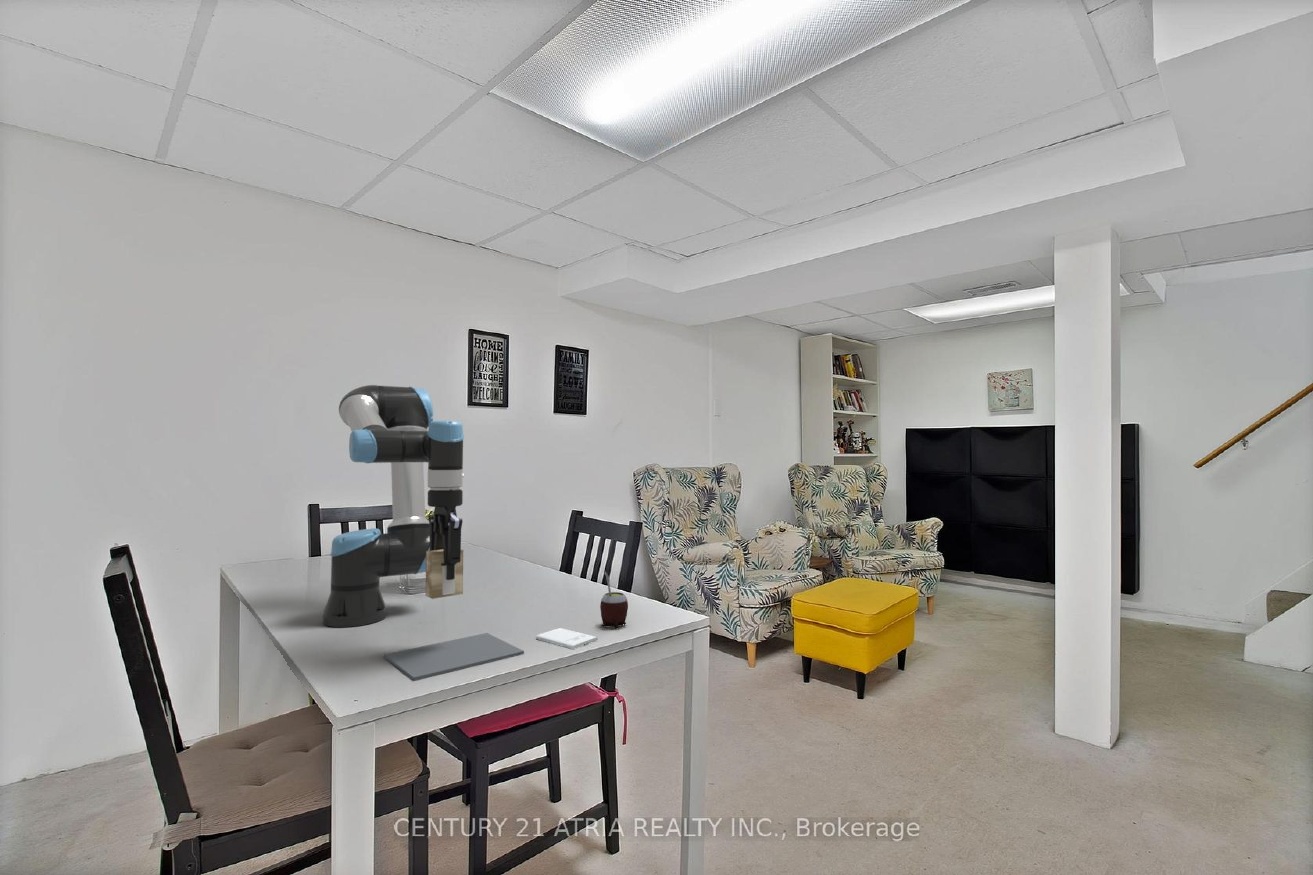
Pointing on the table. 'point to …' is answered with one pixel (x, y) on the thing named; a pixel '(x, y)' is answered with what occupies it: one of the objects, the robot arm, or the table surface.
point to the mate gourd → (613, 607)
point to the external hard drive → (566, 638)
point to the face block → (435, 574)
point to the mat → (451, 655)
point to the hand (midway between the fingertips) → (444, 591)
